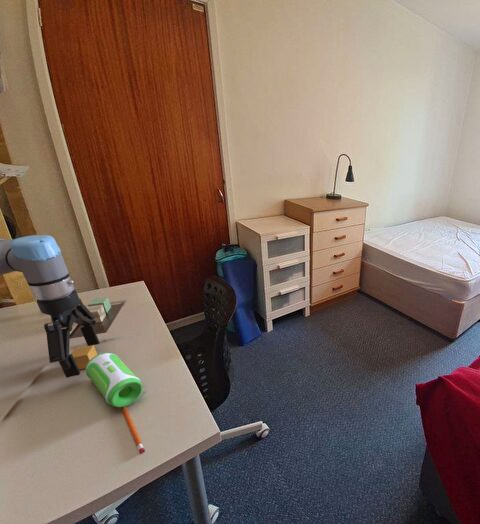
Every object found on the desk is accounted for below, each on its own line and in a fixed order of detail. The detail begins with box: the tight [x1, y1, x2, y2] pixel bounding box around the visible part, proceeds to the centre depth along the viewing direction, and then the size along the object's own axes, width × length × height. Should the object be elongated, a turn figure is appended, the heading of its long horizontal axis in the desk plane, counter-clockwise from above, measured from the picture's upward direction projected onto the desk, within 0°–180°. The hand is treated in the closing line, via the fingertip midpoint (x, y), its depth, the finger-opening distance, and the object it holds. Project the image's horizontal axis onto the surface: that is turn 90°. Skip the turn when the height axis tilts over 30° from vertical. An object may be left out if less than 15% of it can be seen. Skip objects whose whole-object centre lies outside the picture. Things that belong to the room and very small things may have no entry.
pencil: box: [120, 406, 146, 455], centre depth 65 cm, size 1×19×1 cm, turn 49°
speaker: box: [85, 352, 143, 408], centre depth 73 cm, size 18×7×8 cm, turn 56°
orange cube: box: [70, 345, 98, 371], centre depth 81 cm, size 4×4×4 cm
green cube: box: [87, 296, 112, 313], centre depth 104 cm, size 4×4×4 cm
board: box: [70, 302, 125, 340], centre depth 100 cm, size 12×20×1 cm, turn 22°
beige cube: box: [85, 305, 106, 323], centre depth 99 cm, size 4×4×4 cm
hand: (84, 358), depth 81 cm, fingers open, 13 cm apart
